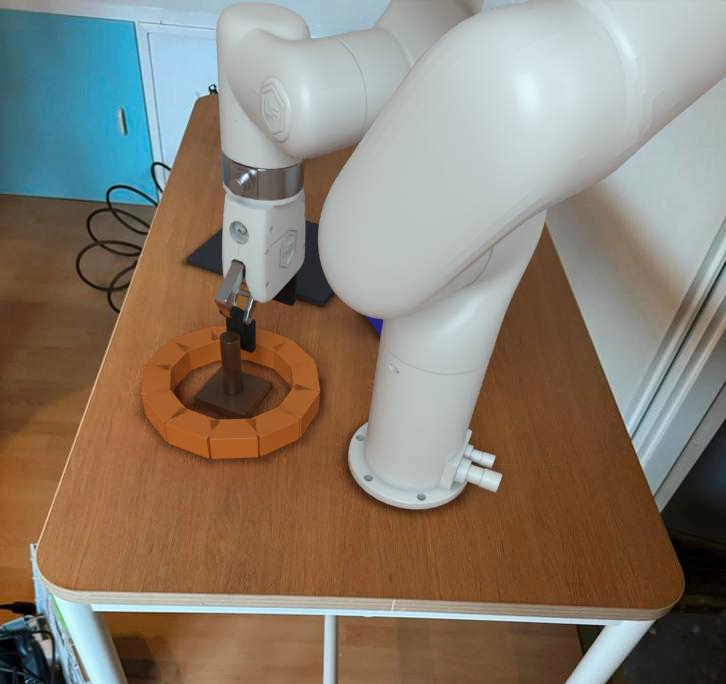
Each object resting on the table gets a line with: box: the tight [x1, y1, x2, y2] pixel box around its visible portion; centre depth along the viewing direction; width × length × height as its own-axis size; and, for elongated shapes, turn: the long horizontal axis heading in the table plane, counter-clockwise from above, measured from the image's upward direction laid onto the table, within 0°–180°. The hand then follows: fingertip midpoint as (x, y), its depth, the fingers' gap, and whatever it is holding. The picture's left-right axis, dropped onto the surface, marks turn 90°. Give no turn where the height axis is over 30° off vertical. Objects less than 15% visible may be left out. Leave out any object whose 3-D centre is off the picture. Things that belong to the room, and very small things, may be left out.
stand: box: [193, 331, 272, 419], centre depth 67 cm, size 6×6×8 cm
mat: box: [185, 219, 335, 307], centre depth 89 cm, size 20×18×1 cm
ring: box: [140, 325, 321, 460], centre depth 69 cm, size 18×18×3 cm
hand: (262, 323), depth 72 cm, fingers open, 9 cm apart
